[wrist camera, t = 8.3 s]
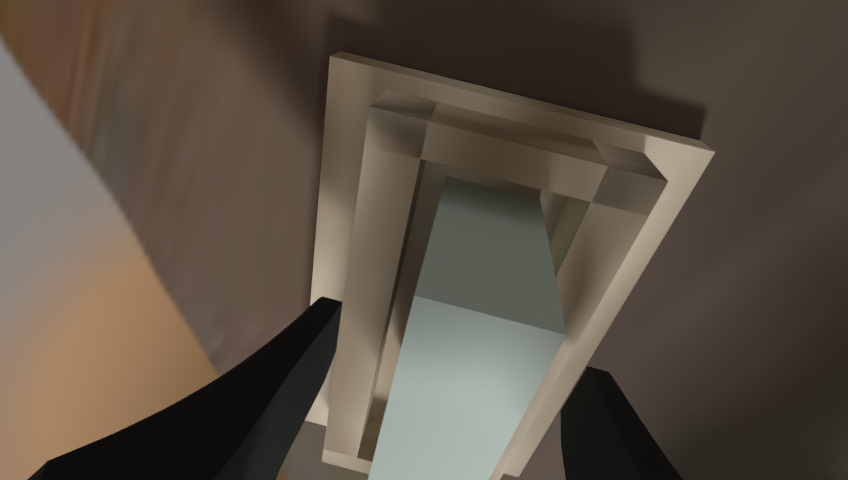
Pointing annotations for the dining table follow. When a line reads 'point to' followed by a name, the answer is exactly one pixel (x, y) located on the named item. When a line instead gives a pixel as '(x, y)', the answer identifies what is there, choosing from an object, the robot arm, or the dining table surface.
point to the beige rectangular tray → (416, 209)
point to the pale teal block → (471, 338)
